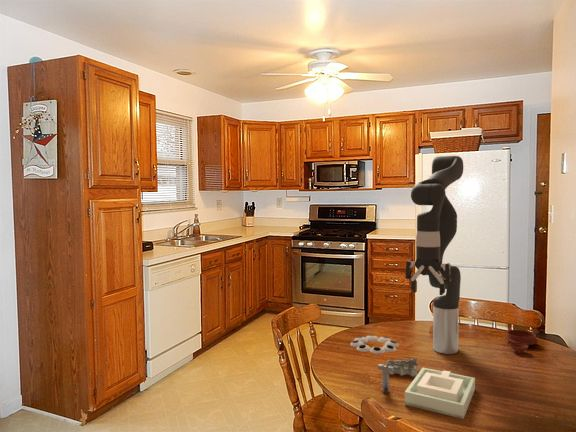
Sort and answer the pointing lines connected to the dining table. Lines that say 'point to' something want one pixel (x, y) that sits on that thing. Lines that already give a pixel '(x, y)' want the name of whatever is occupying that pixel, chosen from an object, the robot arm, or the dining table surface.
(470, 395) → the tray
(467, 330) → the dining table surface
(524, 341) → the pottery
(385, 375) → the T-head stake
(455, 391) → the cream rectangular frame
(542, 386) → the dining table surface
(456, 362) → the dining table surface
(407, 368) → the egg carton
